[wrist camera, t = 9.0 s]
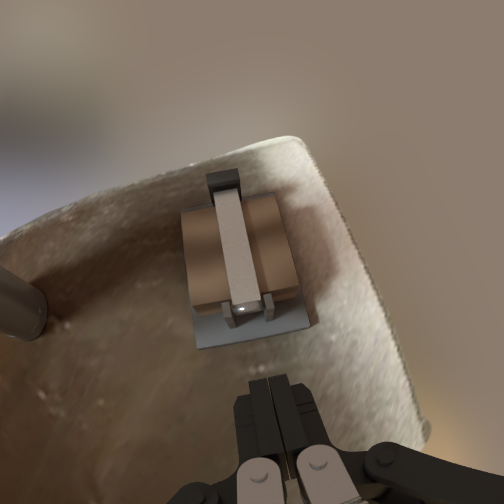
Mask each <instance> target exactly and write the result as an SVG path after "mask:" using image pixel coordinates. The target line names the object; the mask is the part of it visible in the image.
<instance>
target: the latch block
mask: <svg viewBox="0 0 504 504" xmlns="http://www.w3.org/2000/svg"><path fill="white" fill-rule="evenodd" d="M206 178H207V185H208V188H209V192H210V196H211V200H212V203H210V204H205V205H200V206H195V207H190V208H186V209H181V210H180V219H181V229H182V239H183V248H184V257H185V266H186V274H187V282H188V290H189V297H190V305H191V312H192V319H193V325H194V332H195V338H196V344H197V349H199V350H202V349H208V348H214V347H220V346H226V345H232V344H237V343H242V342H248V341H253V340H258V339H263V338H267V337H272V336H277V335H282V334H286V333H291V332H295V331H299V330H304V329H308V328H309V327H310V323H309V319H308V315H307V311H306V307H305V303H304V299H303V295H302V291H301V288H300V284H299V280H298V276H297V272H296V269H295V265H294V261H293V258H292V254H291V250H290V247H289V243H288V239H287V236H286V232H285V229H284V225H283V222H282V218H281V215H280V211H279V208H278V204H277V201H276V197H275V194H274V192H270V193H264V194H259V195H253V196H247V197H242V198H241V188H240V177H239V173H238V169H237V168H236V169H230V170H225V171H219V172H214V173H209V174H206ZM235 188H237V191H238V195H239V200H240V204H241V209H242V214H243V218H244V223H245V227H246V232H247V237H248V241H249V246H250V250H251V255H252V260H253V264H254V269H255V273H256V278H257V283H258V287H259V292H260V296H261V301H262V305H263V311H258V312H253V313H248V314H242V315H237V316H235V314H234V310H233V304H232V298H231V293H230V287H229V282H228V276H227V271H226V265H225V259H224V254H223V248H222V242H221V236H220V230H219V224H218V218H217V212H216V206H215V200H214V194H213V193H214V192H219V191H225V190H230V189H235Z"/></svg>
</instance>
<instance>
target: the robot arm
mask: <svg viewBox="0 0 504 504" xmlns="http://www.w3.org/2000/svg"><path fill="white" fill-rule="evenodd" d="M46 320H47V302H46V298H45V296H44V294H43V293H42V292H41V291H40V290H39V289H37V288H36V287H34V286H32V285H31V284H29V283H27V282H26V281H24V280H23V279H21V278H19V277H18V276H16V275H14V274H13V273H11V272H10V271H8V270H6V269H5V268H3V267H2V266H0V333H2V334H5V335H7V336H10V337H13V338H16V339H19V340H22V341H32V340H34V339H35V338H37V337H38V336H39V335H40V333H41V332H42V330H43V328H44V326H45V323H46ZM268 381H269V386H270V391H271V395H270V391H269V386H268V382H267V378H263V379H258V380H253V381H249V388H250V394H248V395H243V396H238V397H237V399H236V402H235V404H234V407H233V408H234V417H235V426H236V435H237V444H238V453H239V465H238V468H237V470H236V471H235V473H234V474H233V475H231V476H230V477H229V478H227V479H225V480H223V481H220V482H218V483H215V484H213V485H208V484H206V483H202V482H194V483H190V484H187V485H185V486H184V487H182V488H181V489H180V490H179V491H178V492H177V493H176V494H175V495H174V496H173V497H172V498H171V499H170V501H169V502H168V503H167V504H287V490H286V486H285V481H286V480H289V475H288V470H287V465H288V469H289V473H290V477H291V479H295V478H297V481H298V484H299V488H300V494H301V498H302V500H303V503H304V504H504V476H500V475H496V474H491V473H488V472H483V471H480V470H476V469H472V468H468V467H465V466H462V465H458V464H455V463H451V462H448V461H445V460H442V459H439V458H435V457H433V456H430V455H427V454H424V453H421V452H418V451H415V450H413V449H410V448H407V447H404V446H402V445H399V444H397V443H393V442H381V443H378V444H376V445H374V446H372V447H371V448H370V449H369V450H368V451H360V452H347V451H342V450H340V449H338V448H336V447H335V446H334V445H332V443H331V442H330V440H329V438H328V435H327V432H326V430H325V427H324V425H323V422H322V419H321V417H320V414H319V411H318V409H317V406H316V404H315V401H314V398H313V396H312V393H311V391H310V390H309V389H308V388H307V387H306V386H305V385H304V384H302V383H300V384H296V385H291V386H290V384H289V381H288V378H287V375H286V374H282V375H277V376H273V377H268ZM271 397H272V399H271ZM272 402H273V403H272ZM282 444H283V445H282ZM283 448H284V449H283ZM285 457H286V459H285ZM286 461H287V464H286Z"/></svg>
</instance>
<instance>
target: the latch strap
mask: <svg viewBox="0 0 504 504" xmlns="http://www.w3.org/2000/svg"><path fill="white" fill-rule="evenodd" d="M213 194H214V200H215V206H216V212H217V218H218V224H219V230H220V236H221V242H222V248H223V254H224V259H225V265H226V271H227V276H228V282H229V287H230V293H231V298H232V304H233V310H234V314H235V316H237V315H242V314H248V313H253V312H258V311H263V305H262V301H261V296H260V292H259V287H258V283H257V278H256V273H255V269H254V264H253V260H252V255H251V250H250V246H249V241H248V237H247V232H246V227H245V223H244V218H243V214H242V209H241V204H240V200H239V195H238V191H237V188H235V189H230V190H225V191H219V192H214V193H213Z"/></svg>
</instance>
